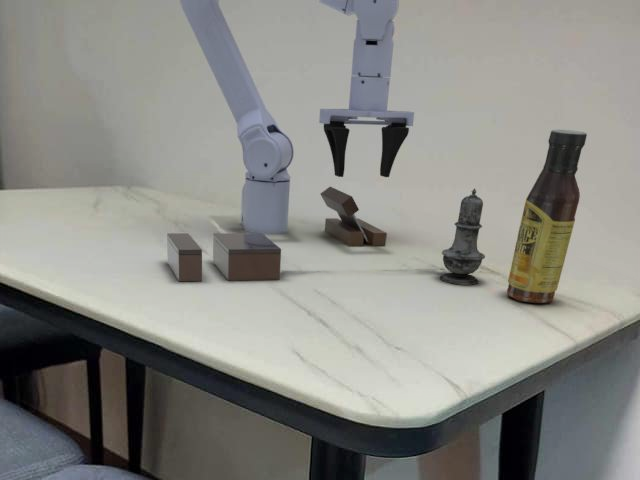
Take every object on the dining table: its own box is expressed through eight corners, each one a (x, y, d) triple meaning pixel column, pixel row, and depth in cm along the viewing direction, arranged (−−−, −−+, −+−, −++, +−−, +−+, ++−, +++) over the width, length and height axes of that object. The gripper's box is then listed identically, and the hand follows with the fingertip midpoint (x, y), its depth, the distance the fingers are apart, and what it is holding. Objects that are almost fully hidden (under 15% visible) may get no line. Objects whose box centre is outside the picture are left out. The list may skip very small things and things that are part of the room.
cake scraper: (342, 234, 123) (320, 193, 118) (352, 227, 123) (330, 186, 118) (364, 247, 114) (341, 204, 110) (375, 240, 114) (352, 196, 110)
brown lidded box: (213, 262, 103) (213, 233, 101) (260, 261, 105) (261, 233, 103) (228, 280, 95) (228, 249, 93) (279, 279, 97) (281, 248, 95)
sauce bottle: (500, 290, 98) (532, 126, 88) (546, 293, 98) (584, 129, 88) (512, 304, 92) (548, 130, 82) (561, 307, 92) (603, 134, 82)
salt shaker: (481, 287, 99) (498, 193, 93) (437, 282, 100) (452, 189, 94) (479, 277, 104) (496, 187, 98) (437, 272, 105) (451, 183, 99)
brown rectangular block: (167, 263, 102) (166, 233, 100) (188, 262, 102) (188, 233, 100) (179, 281, 93) (178, 249, 91) (202, 281, 94) (202, 249, 92)
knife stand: (324, 236, 123) (325, 218, 122) (357, 236, 125) (359, 218, 123) (349, 253, 113) (350, 233, 112) (384, 252, 115) (387, 232, 114)
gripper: (333, 75, 102) (326, 179, 109) (427, 79, 106) (415, 179, 113) (317, 74, 108) (311, 173, 115) (407, 78, 112) (396, 173, 118)
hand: (361, 176), depth 114 cm, fingers open, 7 cm apart
